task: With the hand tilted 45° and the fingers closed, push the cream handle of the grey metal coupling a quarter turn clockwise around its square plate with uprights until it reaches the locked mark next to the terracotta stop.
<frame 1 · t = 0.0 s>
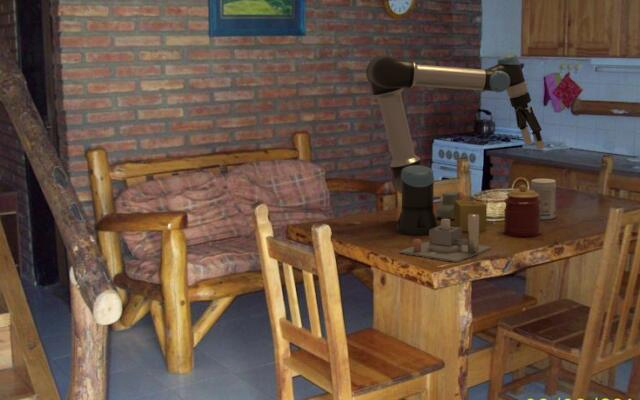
hand: (535, 146, 338), 28 cm above the table, fingers open, 13 cm apart
olive yellow box: (470, 229, 327), on the table
air freshener: (450, 218, 346), on the table
supplement tub: (542, 218, 344), on the table
coupling: (456, 231, 290), point 7 cm above the table, hinge at 0.0°
square plate with uprights: (445, 251, 294), on the table
canister: (522, 233, 318), on the table
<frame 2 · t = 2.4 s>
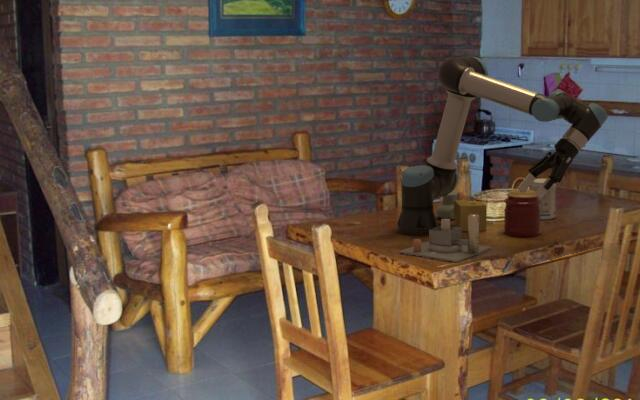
hand: (528, 193, 292), 19 cm above the table, fingers open, 13 cm apart
nothing on the table moved.
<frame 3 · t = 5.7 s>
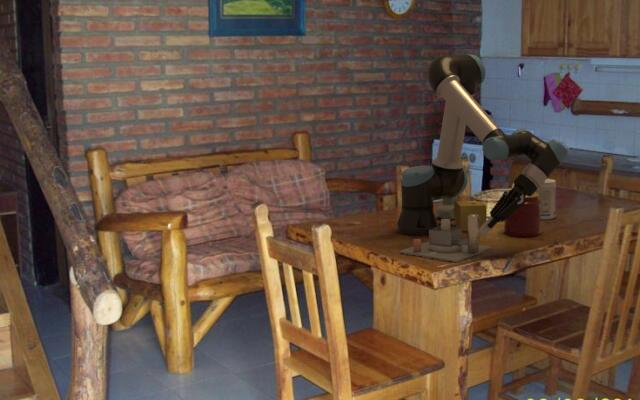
hand: (480, 233, 288), 7 cm above the table, fingers closed
coupling: (456, 231, 290), point 7 cm above the table, hinge at -0.2°, touching gripper
everything else where it was.
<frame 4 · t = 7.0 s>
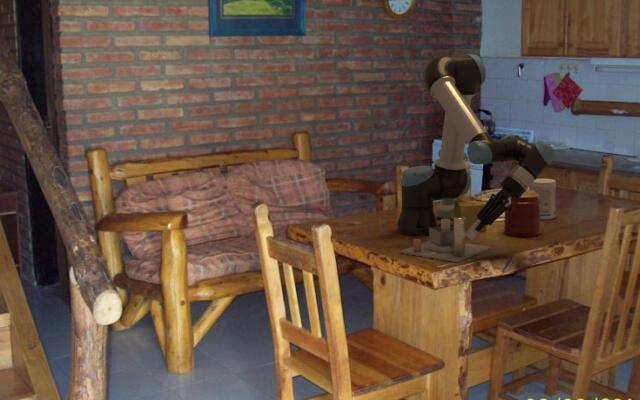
hand: (468, 237, 284), 7 cm above the table, fingers closed, pressing on coupling
coupling: (450, 232, 289), point 7 cm above the table, hinge at -36.9°, touching gripper
everything else where it was.
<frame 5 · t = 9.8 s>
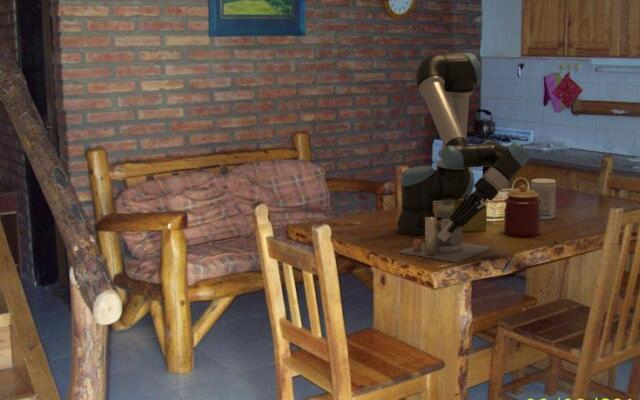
hand: (440, 238, 283), 7 cm above the table, fingers closed
coupling: (439, 232, 289), point 7 cm above the table, hinge at -91.4°, touching gripper
everything else where it was.
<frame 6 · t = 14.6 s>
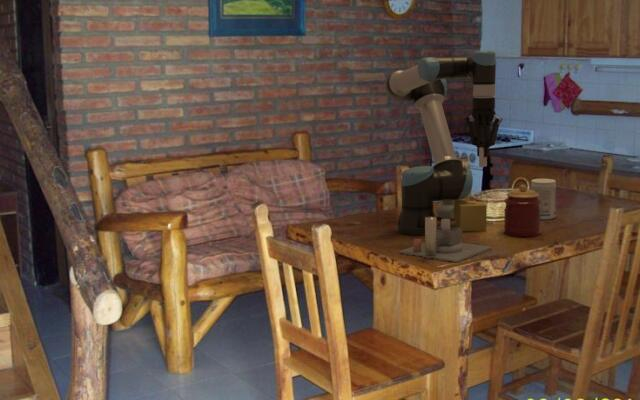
hand: (482, 166, 301), 26 cm above the table, fingers closed
coupling: (439, 232, 289), point 7 cm above the table, hinge at -91.4°
everything else where it was.
at the end: coupling at -91° (first picture: +0°) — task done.
